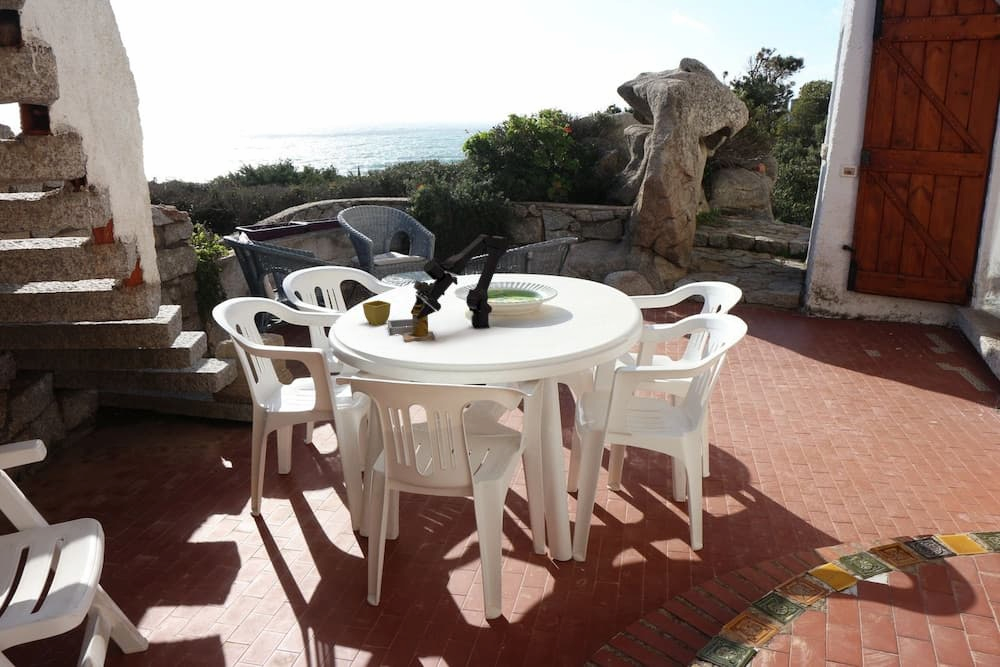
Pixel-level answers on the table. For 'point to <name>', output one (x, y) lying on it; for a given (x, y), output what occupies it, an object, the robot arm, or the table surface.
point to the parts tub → (400, 326)
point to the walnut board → (409, 339)
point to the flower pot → (377, 311)
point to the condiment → (419, 324)
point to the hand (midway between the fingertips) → (414, 316)
